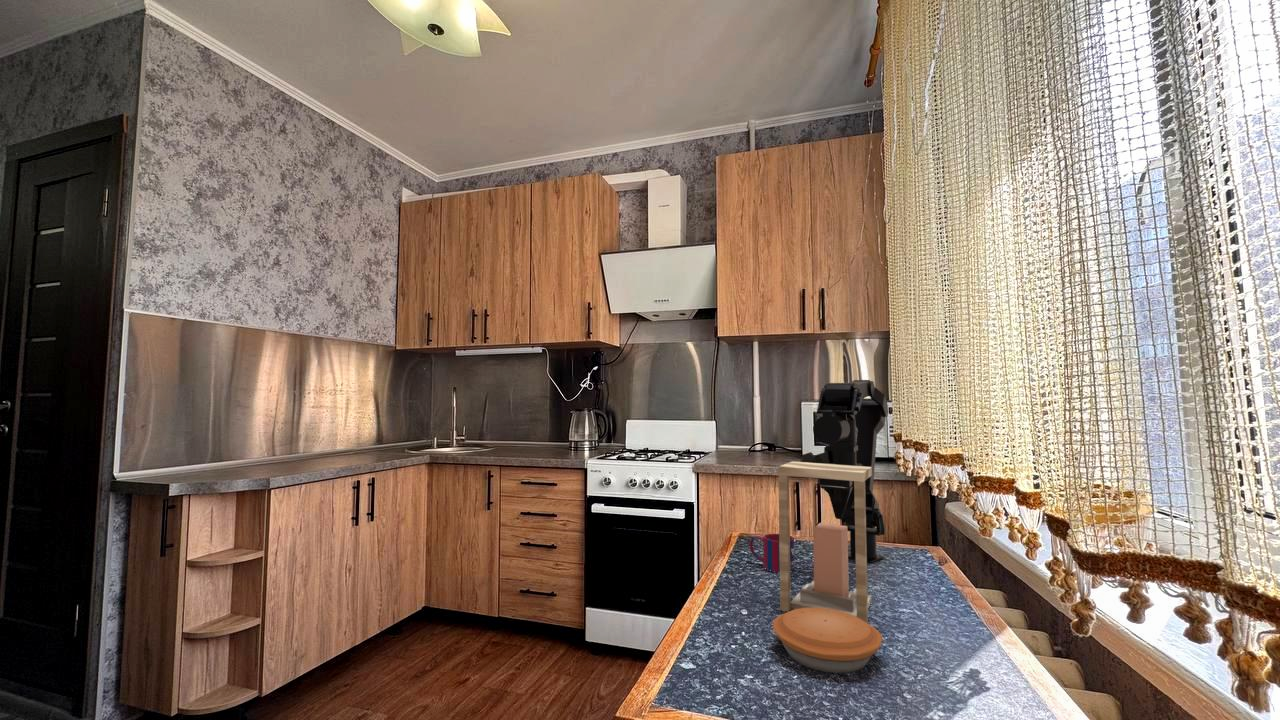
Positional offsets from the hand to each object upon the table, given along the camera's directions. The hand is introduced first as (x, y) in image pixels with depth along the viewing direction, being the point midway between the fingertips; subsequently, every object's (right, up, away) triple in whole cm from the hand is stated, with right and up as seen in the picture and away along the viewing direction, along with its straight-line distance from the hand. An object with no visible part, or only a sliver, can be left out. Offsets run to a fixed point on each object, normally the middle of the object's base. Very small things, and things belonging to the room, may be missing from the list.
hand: (843, 514), depth 116 cm
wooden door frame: (-8, -12, -16) cm, 21 cm away
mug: (-14, -14, +6) cm, 20 cm away
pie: (-16, -11, -35) cm, 40 cm away
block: (-8, -11, -16) cm, 21 cm away
